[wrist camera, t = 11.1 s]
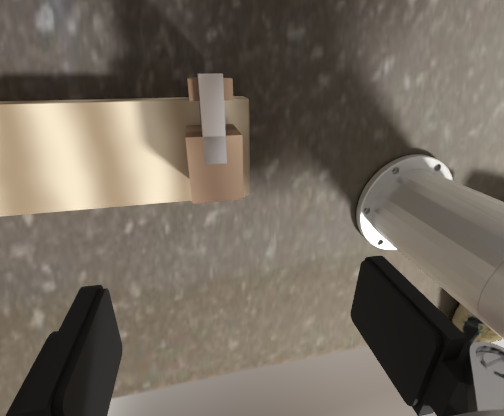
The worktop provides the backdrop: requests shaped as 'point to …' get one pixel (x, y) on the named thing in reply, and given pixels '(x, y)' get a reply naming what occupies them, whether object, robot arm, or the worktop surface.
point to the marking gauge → (213, 143)
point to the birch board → (101, 152)
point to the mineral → (473, 327)
